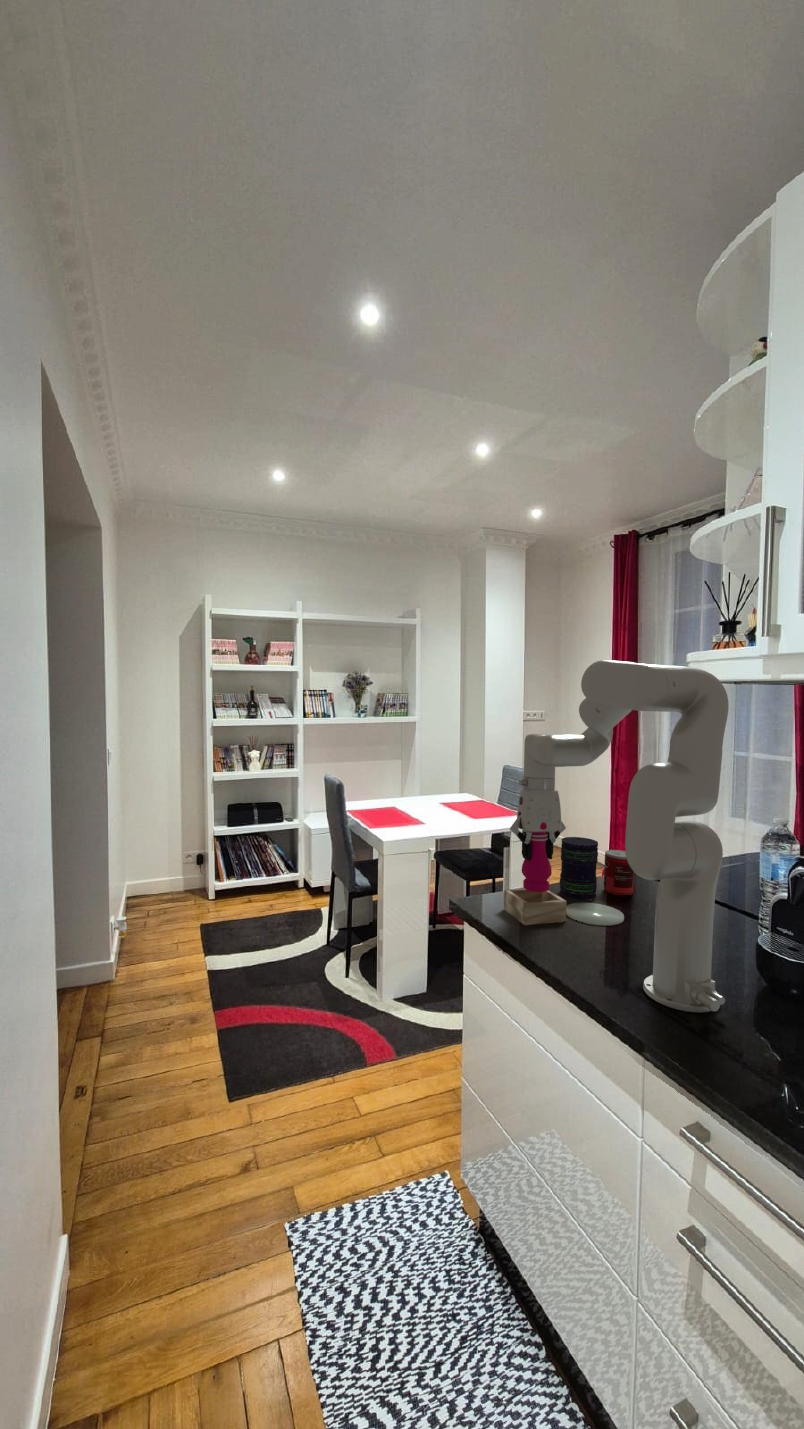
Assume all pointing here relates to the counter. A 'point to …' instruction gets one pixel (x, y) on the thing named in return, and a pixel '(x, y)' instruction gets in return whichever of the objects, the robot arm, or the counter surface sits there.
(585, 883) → the storage jar
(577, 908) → the coaster
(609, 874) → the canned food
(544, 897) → the box
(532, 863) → the pepper mill
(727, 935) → the counter surface
